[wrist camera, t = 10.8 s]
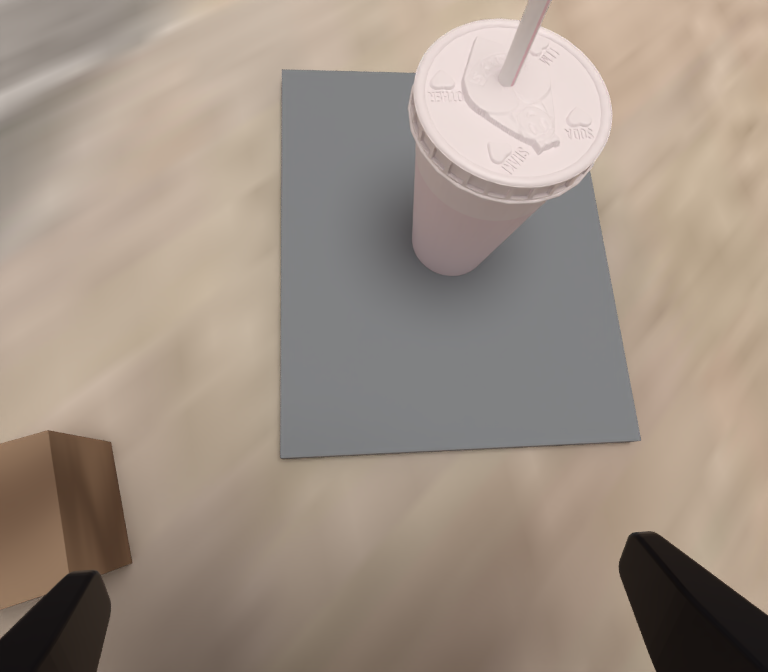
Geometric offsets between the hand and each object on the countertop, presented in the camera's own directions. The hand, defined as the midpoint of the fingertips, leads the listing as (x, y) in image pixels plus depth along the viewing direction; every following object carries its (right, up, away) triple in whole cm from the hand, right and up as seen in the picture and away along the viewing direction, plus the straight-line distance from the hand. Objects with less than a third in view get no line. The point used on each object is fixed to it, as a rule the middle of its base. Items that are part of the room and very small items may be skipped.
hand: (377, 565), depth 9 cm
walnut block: (-13, -4, +12) cm, 18 cm away
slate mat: (+3, +8, +17) cm, 19 cm away
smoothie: (+3, +8, +16) cm, 19 cm away
